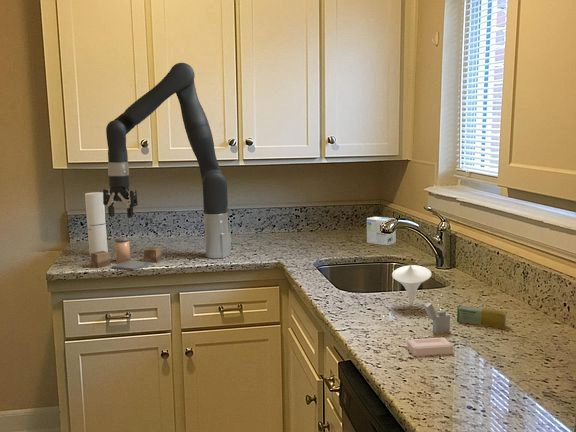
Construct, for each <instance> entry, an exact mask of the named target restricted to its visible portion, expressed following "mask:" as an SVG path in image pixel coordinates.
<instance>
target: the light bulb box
mask: <svg viewBox="0 0 576 432" xmlns="http://www.w3.org/2000/svg"><path fill="white" fill-rule="evenodd" d="M391 219H396V217H395V218H392V217H384V216H372V217H371V216H370V217H367V218H366V243H368V244H373V245H374V244H375V245H382V246H390V245H394V244H396V243H397V239H396V238H397V237H396V231H397V230H395V231H394V232H393V233H391V234H384V233H381V231H380V225H381V224H382V223H384V222H385V221H388V220H391Z"/></svg>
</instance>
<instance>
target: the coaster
mask: <svg viewBox="0 0 576 432" xmlns="http://www.w3.org/2000/svg"><path fill="white" fill-rule="evenodd" d="M151 265H152V263H151V262H144V261H142V260H141V261H139V260H132V259H130V260H129V261H126V262H123V263H118V264H115V265H112V266H111V269H114V270H124V271H137V270H140V269H142V268H145V267H148V266H151Z"/></svg>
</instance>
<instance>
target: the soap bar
mask: <svg viewBox="0 0 576 432" xmlns="http://www.w3.org/2000/svg"><path fill="white" fill-rule="evenodd" d="M406 344H407V345H406V346H407V350H409V352H410V353H411V355H413V356H414V357H422V356H423V357H426V356H439V355H452V354H453V352H454V345H453V344H452V343H451V342H450V341H449V340H448V339H446V338H445V337H432V338H431V337H430V338H429V337H427V338H417V339H416V338H415V339H414V338H413V339H408V340H407V342H406Z"/></svg>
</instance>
